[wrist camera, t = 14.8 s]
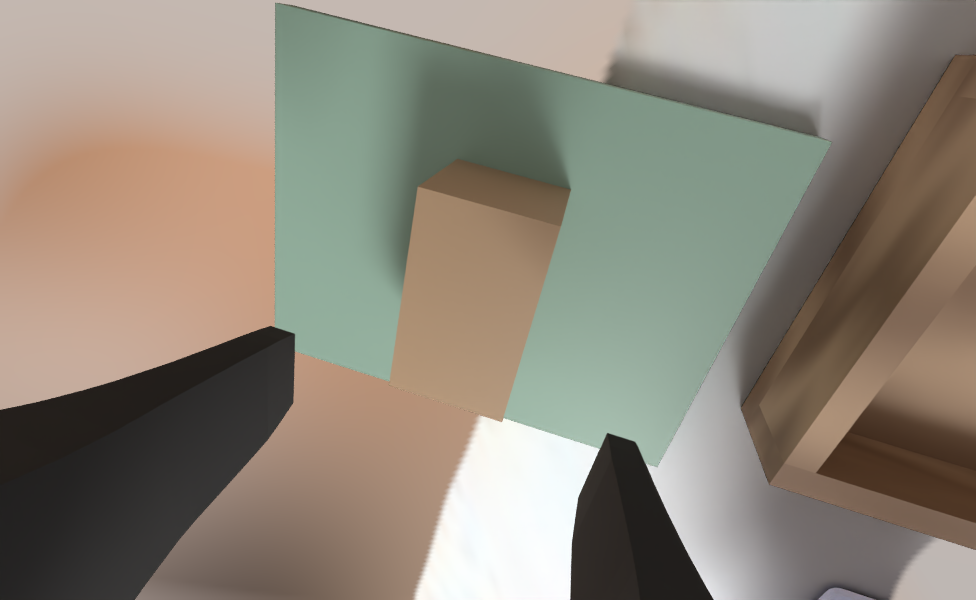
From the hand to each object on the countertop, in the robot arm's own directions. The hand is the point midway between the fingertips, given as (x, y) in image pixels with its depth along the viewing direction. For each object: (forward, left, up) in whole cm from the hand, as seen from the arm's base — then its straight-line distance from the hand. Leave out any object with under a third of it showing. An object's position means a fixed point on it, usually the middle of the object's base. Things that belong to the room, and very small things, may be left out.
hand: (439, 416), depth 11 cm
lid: (0, +1, -9) cm, 9 cm away
